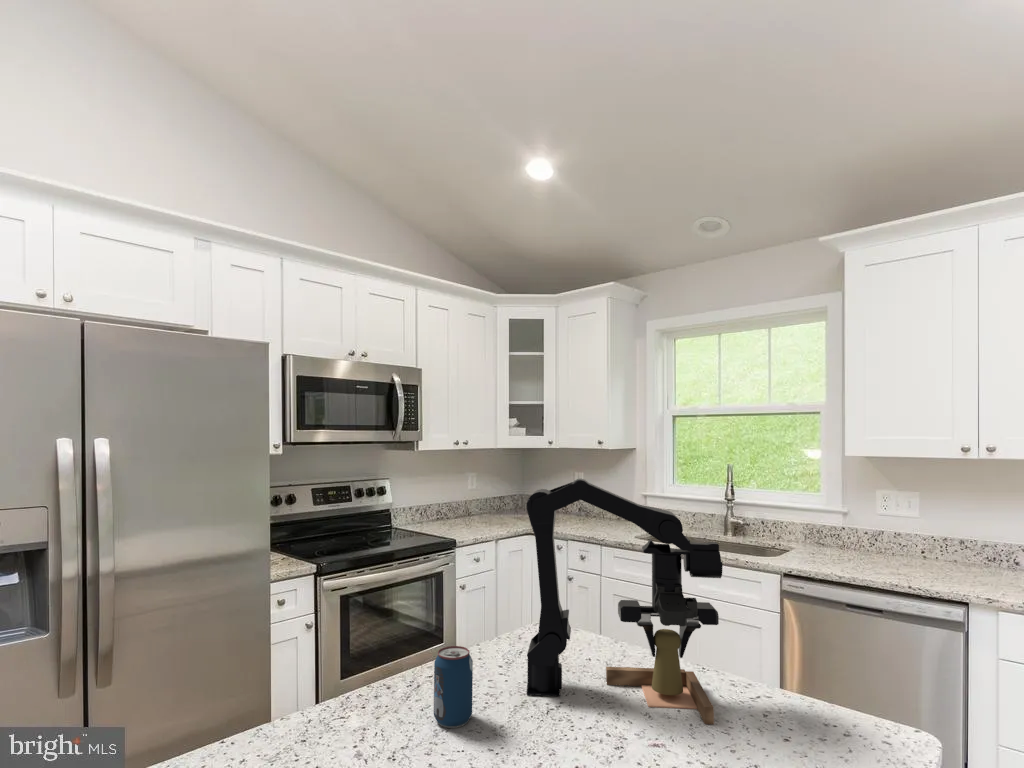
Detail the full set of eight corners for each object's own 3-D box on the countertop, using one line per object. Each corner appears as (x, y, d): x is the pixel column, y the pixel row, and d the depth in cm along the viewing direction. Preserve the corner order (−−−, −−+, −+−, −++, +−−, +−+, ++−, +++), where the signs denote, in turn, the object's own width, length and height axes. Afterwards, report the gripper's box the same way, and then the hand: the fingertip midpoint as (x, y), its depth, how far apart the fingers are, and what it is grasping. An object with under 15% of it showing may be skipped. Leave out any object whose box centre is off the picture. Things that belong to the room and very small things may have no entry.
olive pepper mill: (686, 696, 114) (685, 636, 115) (653, 694, 115) (653, 635, 115) (680, 682, 120) (680, 626, 121) (649, 681, 121) (649, 625, 121)
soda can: (477, 713, 110) (477, 646, 111) (464, 732, 103) (465, 660, 104) (442, 708, 112) (443, 643, 113) (427, 726, 105) (428, 656, 106)
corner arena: (614, 720, 108) (614, 703, 108) (606, 681, 124) (606, 666, 125) (713, 724, 107) (713, 707, 107) (692, 684, 123) (692, 669, 123)
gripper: (623, 585, 112) (624, 671, 111) (726, 588, 110) (727, 675, 109) (617, 570, 123) (617, 649, 122) (710, 573, 121) (711, 652, 120)
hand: (667, 656), depth 118 cm, fingers closed on olive pepper mill, 5 cm apart
